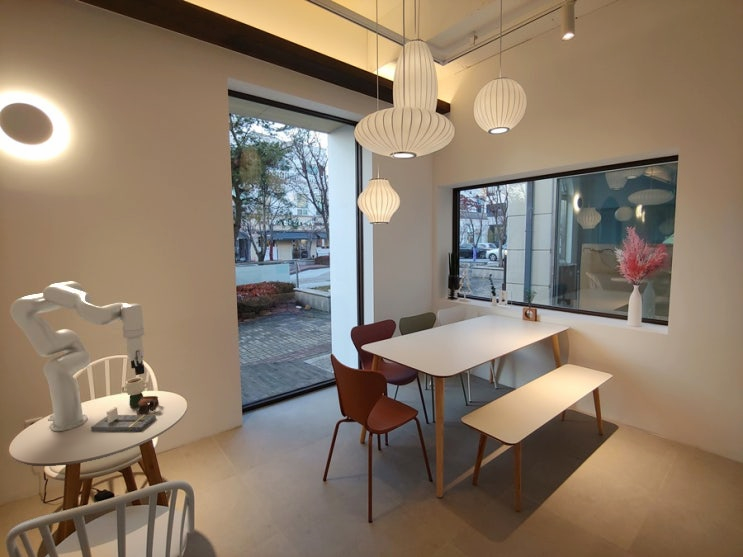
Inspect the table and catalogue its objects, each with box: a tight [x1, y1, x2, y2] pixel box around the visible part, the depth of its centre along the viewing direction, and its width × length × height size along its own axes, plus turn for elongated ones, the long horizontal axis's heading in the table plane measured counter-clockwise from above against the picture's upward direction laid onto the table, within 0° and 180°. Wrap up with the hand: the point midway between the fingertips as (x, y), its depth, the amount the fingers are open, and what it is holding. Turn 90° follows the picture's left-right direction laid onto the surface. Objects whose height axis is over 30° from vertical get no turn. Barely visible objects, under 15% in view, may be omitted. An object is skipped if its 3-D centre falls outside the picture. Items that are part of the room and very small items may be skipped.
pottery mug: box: [136, 395, 160, 415], centre depth 169 cm, size 12×10×8 cm
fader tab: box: [106, 406, 119, 422], centre depth 156 cm, size 2×4×5 cm, turn 178°
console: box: [90, 414, 157, 432], centre depth 157 cm, size 22×10×2 cm, turn 88°
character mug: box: [121, 377, 149, 408], centre depth 174 cm, size 11×7×13 cm, turn 121°
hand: (138, 370), depth 154 cm, fingers open, 9 cm apart
